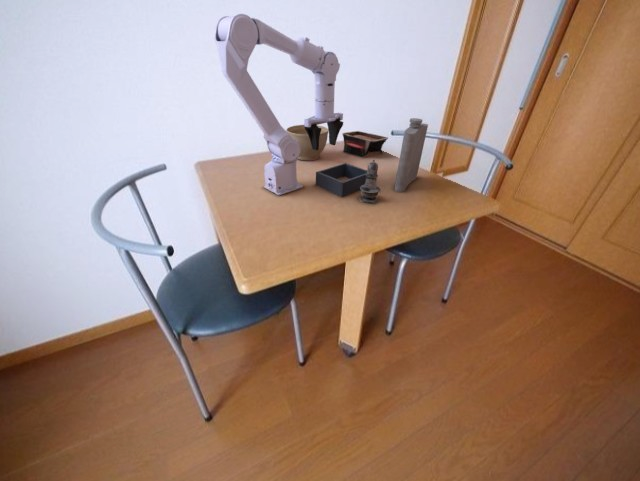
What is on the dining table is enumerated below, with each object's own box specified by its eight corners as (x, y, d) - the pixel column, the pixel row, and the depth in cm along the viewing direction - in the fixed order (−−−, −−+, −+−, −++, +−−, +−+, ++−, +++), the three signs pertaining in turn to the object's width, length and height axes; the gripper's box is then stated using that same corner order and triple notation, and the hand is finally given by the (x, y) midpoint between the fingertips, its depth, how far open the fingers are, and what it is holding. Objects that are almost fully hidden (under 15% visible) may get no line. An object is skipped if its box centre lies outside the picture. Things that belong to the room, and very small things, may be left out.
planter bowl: (305, 148, 125) (305, 122, 119) (335, 156, 117) (336, 129, 110) (279, 157, 114) (277, 129, 108) (309, 166, 106) (309, 136, 100)
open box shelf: (342, 197, 85) (343, 183, 83) (315, 185, 92) (315, 171, 89) (370, 185, 93) (372, 172, 90) (344, 175, 100) (345, 162, 97)
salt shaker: (378, 195, 86) (383, 156, 80) (379, 204, 81) (385, 163, 75) (358, 194, 87) (362, 155, 80) (358, 203, 82) (363, 162, 75)
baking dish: (361, 149, 132) (359, 126, 127) (392, 153, 120) (392, 128, 115) (338, 158, 125) (335, 134, 120) (369, 162, 112) (367, 136, 108)
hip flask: (402, 192, 89) (415, 124, 77) (390, 189, 90) (401, 122, 79) (417, 177, 100) (431, 115, 89) (406, 174, 102) (418, 114, 90)
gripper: (315, 105, 77) (315, 154, 85) (351, 99, 86) (348, 145, 93) (298, 101, 82) (300, 149, 89) (334, 96, 90) (333, 140, 98)
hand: (324, 146), depth 92 cm, fingers open, 7 cm apart
